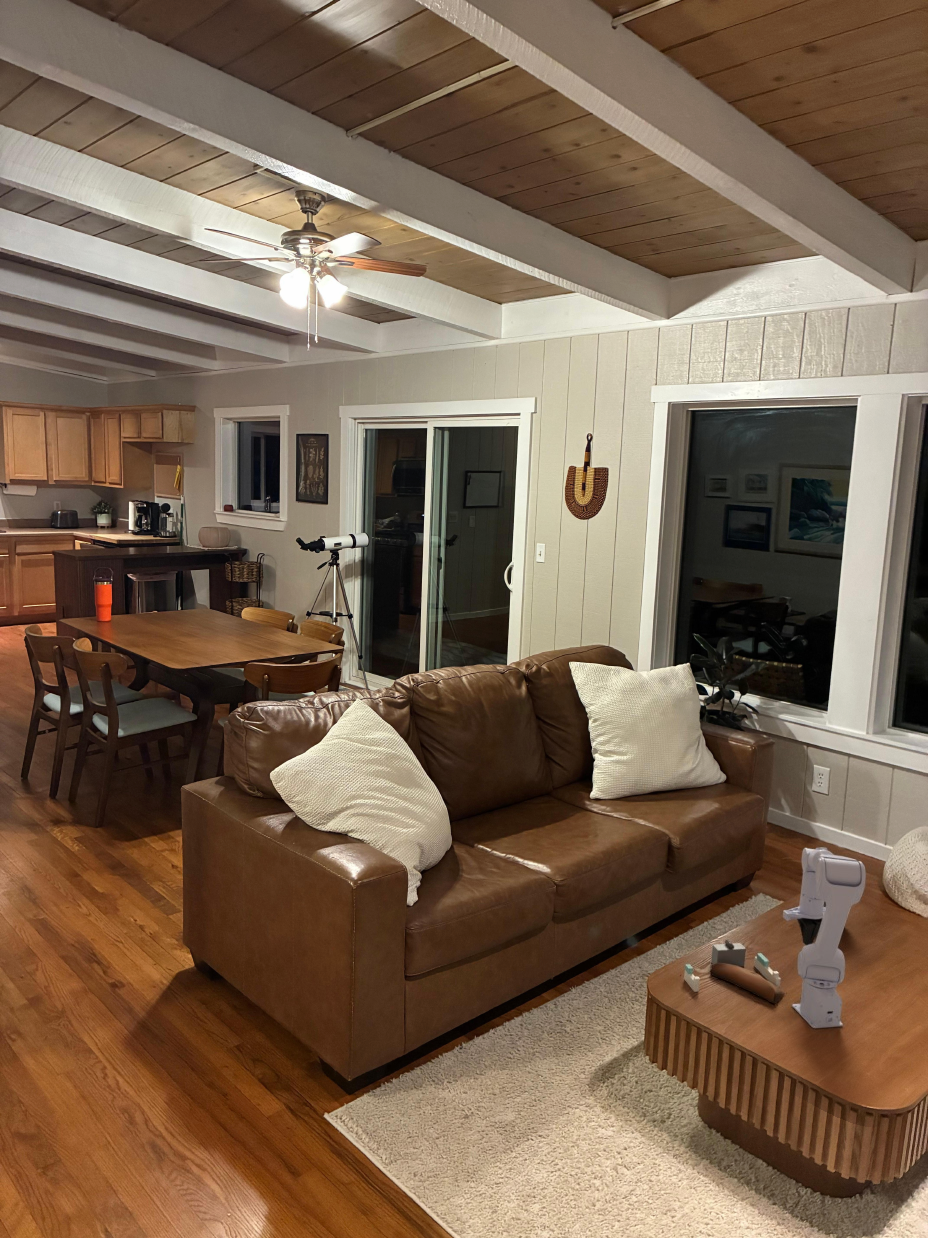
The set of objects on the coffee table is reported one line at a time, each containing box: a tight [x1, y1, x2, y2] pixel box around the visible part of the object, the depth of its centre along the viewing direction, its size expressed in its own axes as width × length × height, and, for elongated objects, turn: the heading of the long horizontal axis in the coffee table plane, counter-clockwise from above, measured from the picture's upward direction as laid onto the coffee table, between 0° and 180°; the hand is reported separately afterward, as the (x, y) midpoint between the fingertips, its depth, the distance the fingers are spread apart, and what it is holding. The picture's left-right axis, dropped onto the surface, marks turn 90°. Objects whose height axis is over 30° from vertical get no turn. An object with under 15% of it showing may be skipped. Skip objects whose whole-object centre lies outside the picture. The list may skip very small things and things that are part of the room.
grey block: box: [710, 939, 747, 967], centre depth 242 cm, size 3×8×6 cm, turn 101°
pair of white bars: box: [683, 952, 782, 993], centre depth 235 cm, size 11×23×4 cm, turn 101°
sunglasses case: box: [709, 963, 787, 1005], centre depth 232 cm, size 18×7×7 cm
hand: (807, 944), depth 235 cm, fingers closed
